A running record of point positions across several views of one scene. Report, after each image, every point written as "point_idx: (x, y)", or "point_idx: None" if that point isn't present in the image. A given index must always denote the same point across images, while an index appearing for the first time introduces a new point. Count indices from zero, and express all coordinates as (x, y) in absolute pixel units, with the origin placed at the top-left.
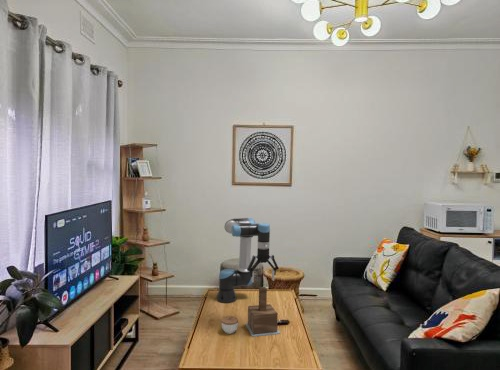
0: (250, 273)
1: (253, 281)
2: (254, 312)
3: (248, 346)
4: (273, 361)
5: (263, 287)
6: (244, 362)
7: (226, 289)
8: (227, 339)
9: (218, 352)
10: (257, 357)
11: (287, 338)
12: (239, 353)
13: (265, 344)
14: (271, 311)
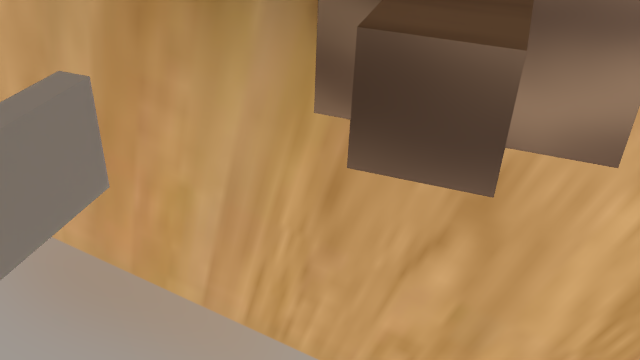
0: None
1: (92, 196)
2: (344, 39)
3: (285, 171)
4: (372, 355)
5: (460, 89)
6: (226, 296)
7: None
8: (165, 26)
9: (106, 159)
10: (303, 291)
11: (628, 191)
12: (216, 217)
13: (406, 196)
14: (572, 91)
